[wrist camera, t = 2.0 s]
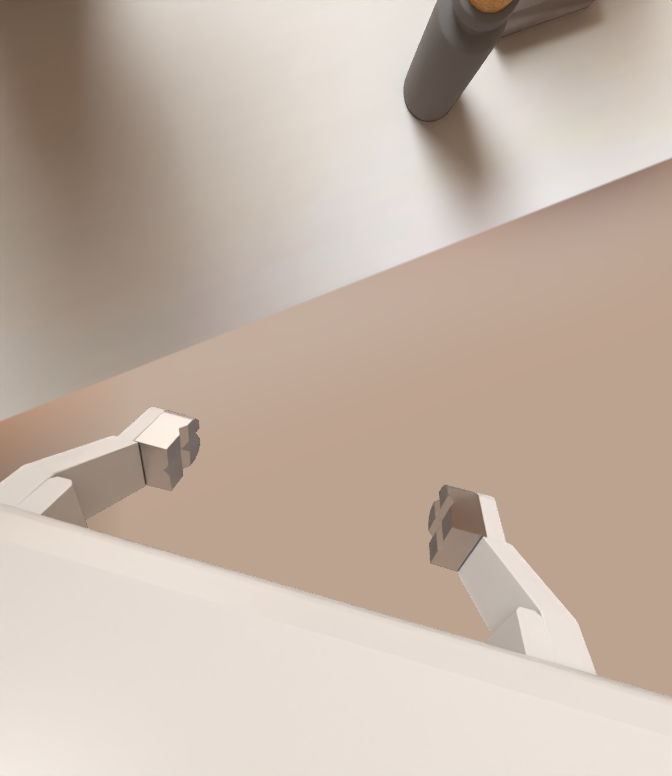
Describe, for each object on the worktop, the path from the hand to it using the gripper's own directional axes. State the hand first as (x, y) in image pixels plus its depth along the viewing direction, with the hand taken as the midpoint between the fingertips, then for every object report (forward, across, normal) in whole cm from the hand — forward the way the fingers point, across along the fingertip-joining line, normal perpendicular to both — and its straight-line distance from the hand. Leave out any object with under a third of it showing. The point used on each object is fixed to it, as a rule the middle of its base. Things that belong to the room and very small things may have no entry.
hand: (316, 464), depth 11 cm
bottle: (+42, 0, -16) cm, 45 cm away
